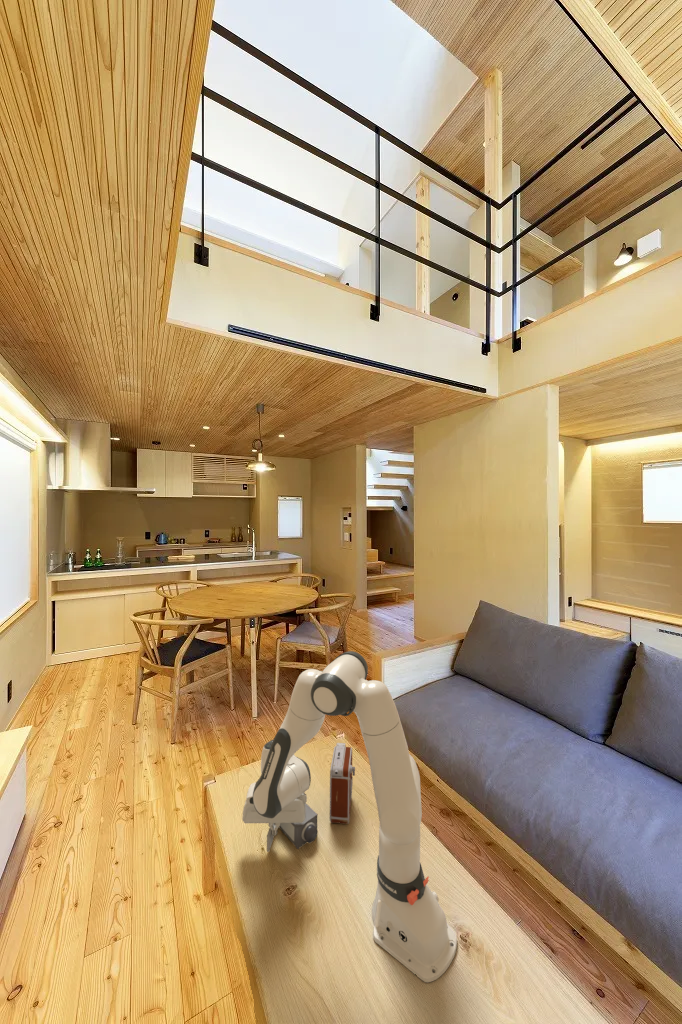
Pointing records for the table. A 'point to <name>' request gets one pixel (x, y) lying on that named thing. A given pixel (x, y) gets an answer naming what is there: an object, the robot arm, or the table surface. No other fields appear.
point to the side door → (269, 839)
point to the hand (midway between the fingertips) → (274, 833)
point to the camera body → (302, 829)
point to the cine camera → (341, 784)
